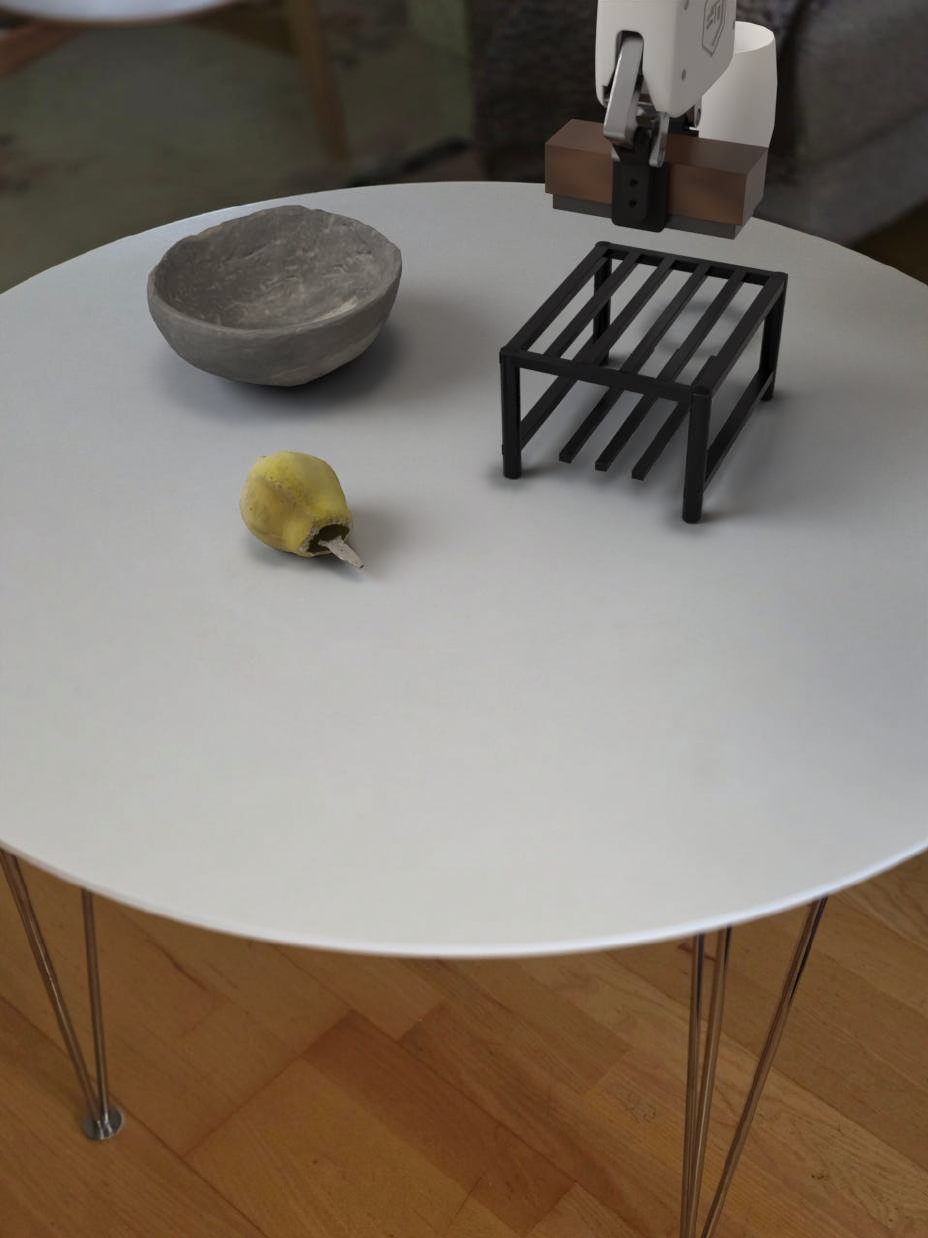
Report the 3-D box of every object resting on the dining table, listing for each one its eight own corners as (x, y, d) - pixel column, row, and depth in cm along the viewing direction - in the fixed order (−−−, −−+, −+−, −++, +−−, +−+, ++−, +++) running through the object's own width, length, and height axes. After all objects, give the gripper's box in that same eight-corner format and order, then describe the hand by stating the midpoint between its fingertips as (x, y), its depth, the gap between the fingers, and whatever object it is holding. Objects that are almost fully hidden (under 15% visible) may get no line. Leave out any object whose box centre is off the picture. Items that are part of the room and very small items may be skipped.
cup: (665, 356, 98) (684, 59, 84) (642, 308, 103) (656, 22, 90) (764, 346, 98) (799, 49, 85) (736, 299, 104) (764, 13, 90)
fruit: (324, 607, 78) (206, 523, 82) (392, 579, 83) (277, 500, 87) (345, 521, 75) (222, 439, 79) (414, 497, 80) (294, 420, 84)
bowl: (201, 454, 91) (180, 348, 85) (137, 337, 103) (115, 238, 98) (449, 387, 96) (443, 282, 91) (359, 283, 108) (349, 185, 103)
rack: (775, 394, 93) (790, 272, 87) (697, 525, 83) (708, 397, 77) (595, 356, 98) (598, 239, 92) (499, 476, 87) (496, 352, 81)
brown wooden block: (761, 214, 80) (768, 146, 77) (739, 243, 77) (746, 174, 74) (571, 182, 84) (571, 118, 81) (544, 209, 81) (544, 143, 79)
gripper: (687, -89, 61) (664, 284, 73) (793, -171, 72) (758, 165, 84) (535, -102, 64) (536, 260, 76) (659, -179, 75) (643, 148, 87)
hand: (653, 207), depth 80 cm, fingers closed on brown wooden block, 4 cm apart
